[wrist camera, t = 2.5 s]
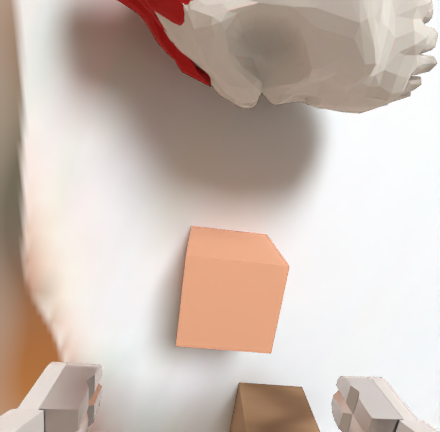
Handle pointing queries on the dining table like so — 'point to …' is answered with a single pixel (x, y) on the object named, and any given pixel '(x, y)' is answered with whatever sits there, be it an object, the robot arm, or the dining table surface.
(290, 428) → the tower base
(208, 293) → the terracotta block
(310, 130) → the dining table surface
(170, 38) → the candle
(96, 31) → the dining table surface
